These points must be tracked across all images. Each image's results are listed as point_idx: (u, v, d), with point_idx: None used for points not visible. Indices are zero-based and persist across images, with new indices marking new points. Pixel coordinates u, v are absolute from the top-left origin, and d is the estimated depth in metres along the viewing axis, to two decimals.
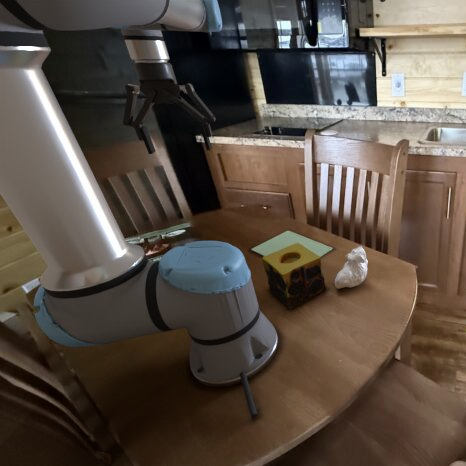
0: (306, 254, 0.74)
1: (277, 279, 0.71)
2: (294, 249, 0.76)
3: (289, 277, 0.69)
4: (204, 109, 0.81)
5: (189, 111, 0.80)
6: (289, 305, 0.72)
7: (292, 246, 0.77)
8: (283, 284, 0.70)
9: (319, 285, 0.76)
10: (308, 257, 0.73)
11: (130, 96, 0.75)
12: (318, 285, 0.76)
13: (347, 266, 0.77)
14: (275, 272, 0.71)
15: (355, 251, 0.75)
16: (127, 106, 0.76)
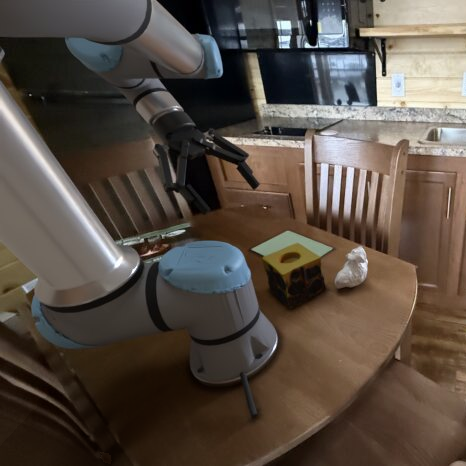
0: (306, 254, 0.74)
1: (277, 279, 0.71)
2: (294, 249, 0.76)
3: (289, 277, 0.69)
4: (236, 146, 0.76)
5: (224, 152, 0.74)
6: (289, 305, 0.72)
7: (292, 246, 0.77)
8: (283, 284, 0.70)
9: (319, 285, 0.76)
10: (308, 257, 0.73)
11: (164, 154, 0.65)
12: (318, 285, 0.76)
13: (347, 266, 0.77)
14: (275, 272, 0.71)
15: (355, 251, 0.75)
16: (165, 165, 0.64)
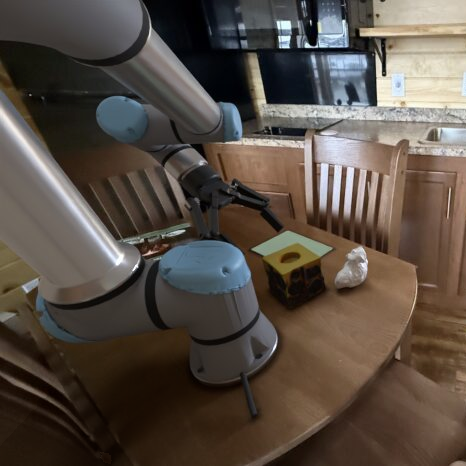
0: (306, 253, 0.74)
1: (277, 279, 0.71)
2: (294, 249, 0.76)
3: (289, 277, 0.69)
4: (258, 193, 0.79)
5: (249, 199, 0.76)
6: (289, 305, 0.72)
7: (292, 246, 0.77)
8: (283, 284, 0.70)
9: (319, 285, 0.76)
10: (308, 257, 0.73)
11: (197, 206, 0.66)
12: (318, 285, 0.76)
13: (347, 266, 0.77)
14: (275, 272, 0.71)
15: (355, 251, 0.75)
16: (199, 217, 0.65)
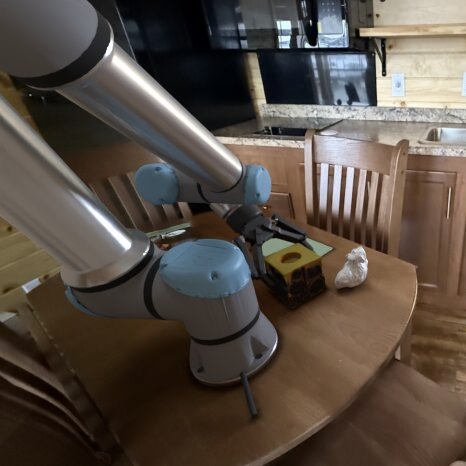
0: (307, 253, 0.75)
1: None
2: (295, 249, 0.76)
3: (290, 277, 0.69)
4: (296, 227, 0.80)
5: (288, 234, 0.77)
6: (290, 305, 0.72)
7: (292, 246, 0.77)
8: (284, 284, 0.70)
9: (319, 285, 0.76)
10: (309, 256, 0.73)
11: (243, 245, 0.67)
12: (318, 285, 0.76)
13: (347, 266, 0.77)
14: (276, 272, 0.70)
15: (355, 251, 0.75)
16: (246, 256, 0.66)
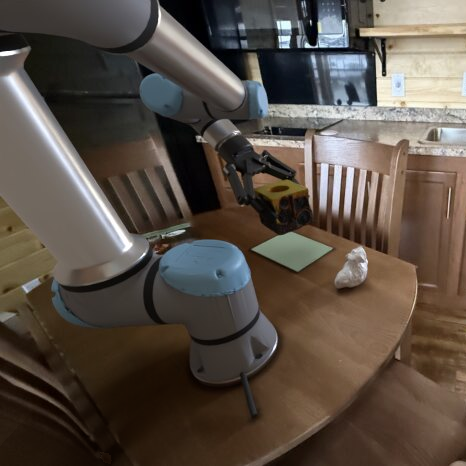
0: (295, 186, 0.79)
1: None
2: (283, 183, 0.81)
3: (278, 204, 0.74)
4: (285, 165, 0.85)
5: (278, 170, 0.82)
6: (279, 232, 0.77)
7: (281, 181, 0.82)
8: (273, 211, 0.75)
9: (307, 217, 0.81)
10: (297, 188, 0.78)
11: (234, 172, 0.72)
12: (306, 217, 0.81)
13: (347, 266, 0.77)
14: (265, 200, 0.75)
15: (355, 251, 0.75)
16: (237, 181, 0.71)
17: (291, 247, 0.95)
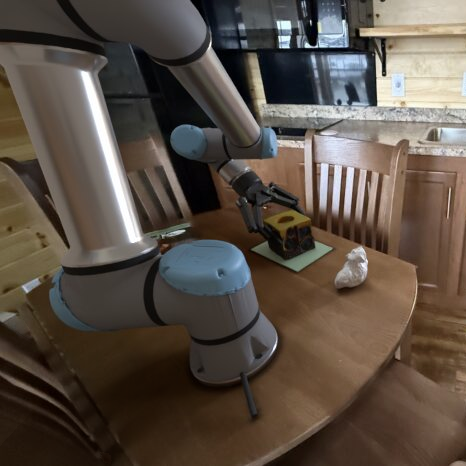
0: (299, 217, 0.91)
1: None
2: (289, 214, 0.92)
3: (285, 234, 0.85)
4: (290, 194, 0.96)
5: (283, 199, 0.93)
6: (285, 257, 0.88)
7: (287, 212, 0.93)
8: (280, 239, 0.86)
9: (309, 243, 0.92)
10: (301, 219, 0.90)
11: (245, 204, 0.83)
12: (308, 243, 0.92)
13: (347, 266, 0.77)
14: (273, 230, 0.87)
15: (355, 251, 0.75)
16: (248, 212, 0.82)
17: None
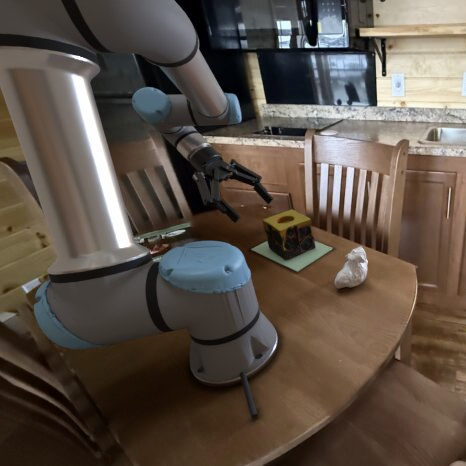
0: (299, 217, 0.91)
1: (275, 236, 0.88)
2: (289, 214, 0.92)
3: (285, 234, 0.85)
4: (252, 171, 0.97)
5: (244, 176, 0.94)
6: (285, 257, 0.88)
7: (287, 212, 0.93)
8: (280, 239, 0.86)
9: (309, 243, 0.92)
10: (301, 219, 0.90)
11: (202, 178, 0.84)
12: (308, 243, 0.92)
13: (347, 266, 0.77)
14: (273, 230, 0.87)
15: (355, 251, 0.75)
16: (204, 186, 0.83)
17: None
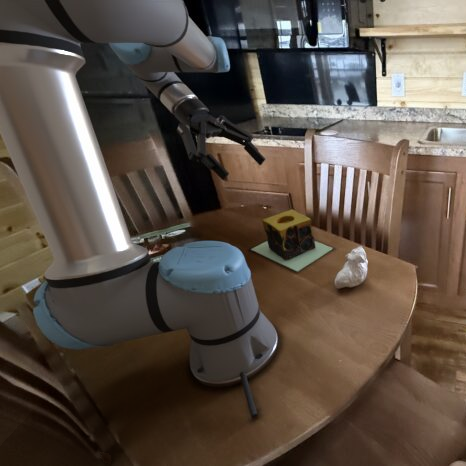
0: (299, 217, 0.91)
1: (275, 236, 0.88)
2: (289, 214, 0.92)
3: (285, 234, 0.85)
4: (242, 130, 0.91)
5: (234, 133, 0.88)
6: (285, 257, 0.88)
7: (287, 212, 0.93)
8: (280, 239, 0.86)
9: (309, 243, 0.92)
10: (301, 219, 0.90)
11: (187, 130, 0.78)
12: (308, 243, 0.92)
13: (347, 266, 0.77)
14: (273, 230, 0.87)
15: (355, 251, 0.75)
16: (189, 138, 0.77)
17: None
